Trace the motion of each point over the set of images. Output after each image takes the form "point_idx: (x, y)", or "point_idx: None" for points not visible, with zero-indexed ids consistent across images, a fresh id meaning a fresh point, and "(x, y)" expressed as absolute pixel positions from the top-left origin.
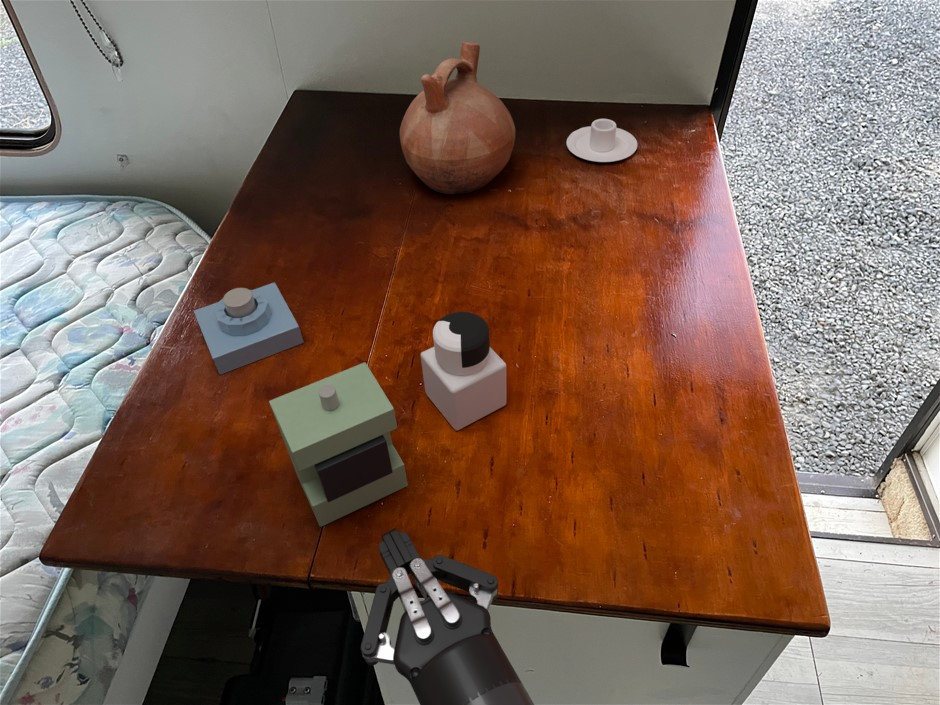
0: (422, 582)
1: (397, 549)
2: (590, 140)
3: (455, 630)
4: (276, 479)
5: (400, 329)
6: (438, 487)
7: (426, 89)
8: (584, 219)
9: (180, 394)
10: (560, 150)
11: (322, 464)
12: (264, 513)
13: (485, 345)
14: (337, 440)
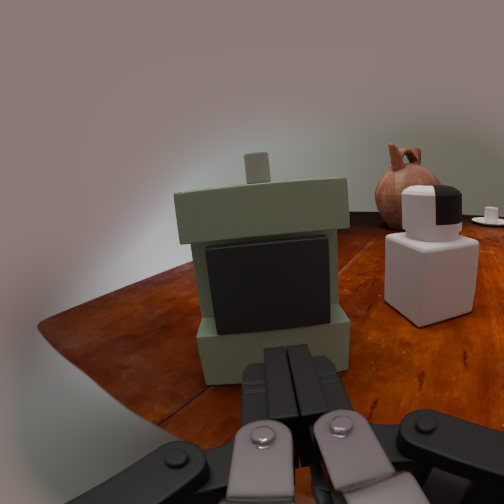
0: (344, 488)
1: (290, 379)
2: (485, 217)
3: None
4: (193, 335)
5: (364, 269)
6: (392, 377)
7: (391, 152)
8: (494, 239)
9: (171, 281)
10: (469, 223)
11: (217, 246)
12: (160, 355)
13: (459, 202)
14: (247, 203)
